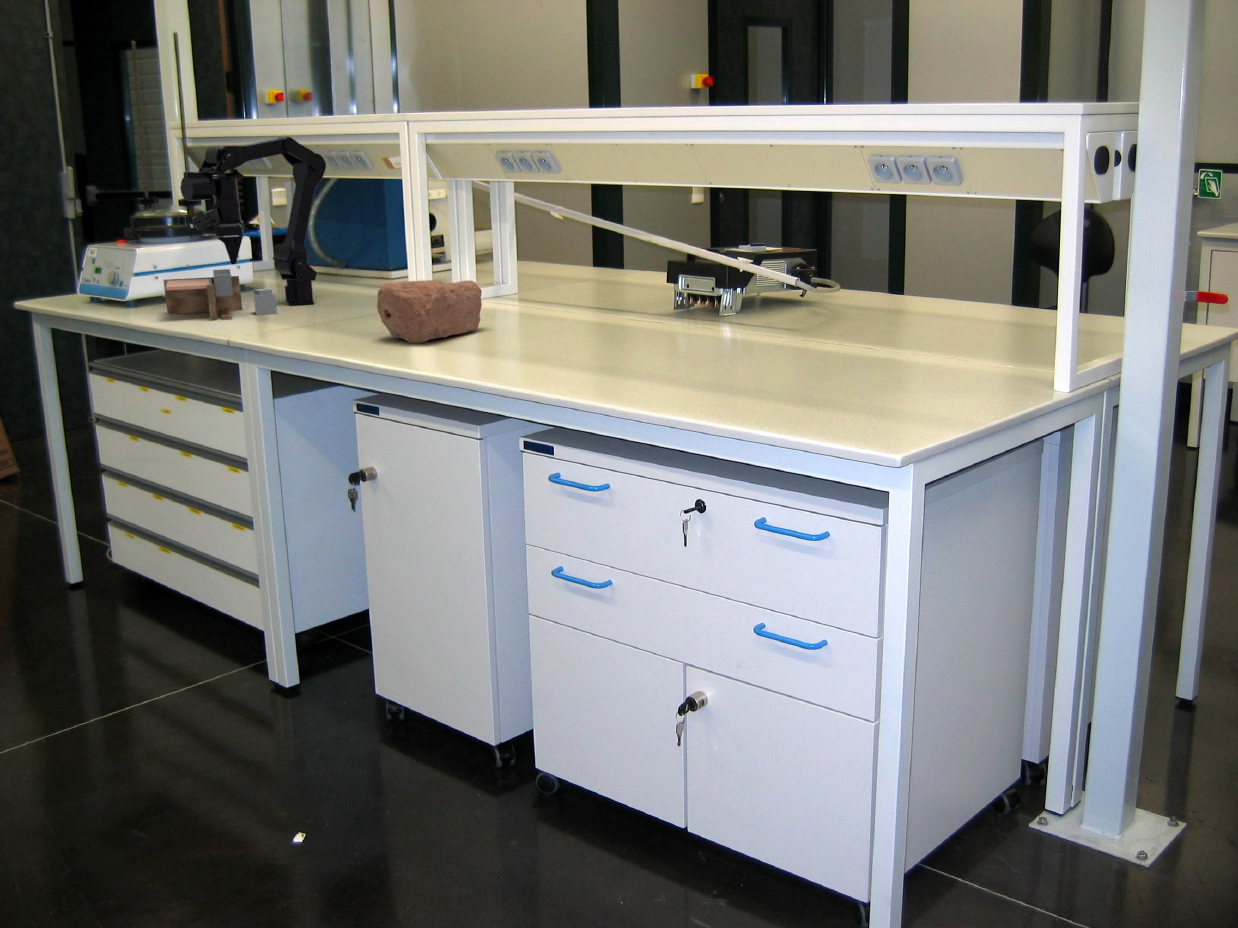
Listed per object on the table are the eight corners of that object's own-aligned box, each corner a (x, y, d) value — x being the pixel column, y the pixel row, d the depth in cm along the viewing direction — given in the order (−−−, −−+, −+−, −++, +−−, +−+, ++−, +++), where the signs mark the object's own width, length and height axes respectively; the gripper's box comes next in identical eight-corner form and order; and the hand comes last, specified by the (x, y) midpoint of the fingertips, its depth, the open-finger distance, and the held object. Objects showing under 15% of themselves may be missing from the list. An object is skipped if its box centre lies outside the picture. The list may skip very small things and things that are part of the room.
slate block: (276, 311, 288) (273, 288, 286) (277, 314, 283) (274, 290, 282) (255, 312, 286) (253, 289, 285) (256, 315, 282) (254, 291, 280)
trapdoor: (231, 289, 289) (229, 269, 287) (233, 295, 276) (230, 275, 275) (169, 292, 284) (166, 272, 282) (167, 299, 271) (164, 278, 270)
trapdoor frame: (242, 309, 292) (238, 276, 290) (244, 318, 277) (240, 283, 274) (167, 313, 287) (163, 279, 284) (165, 323, 271) (161, 287, 269)
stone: (511, 325, 253) (494, 259, 252) (426, 339, 234) (408, 268, 233) (463, 340, 264) (446, 278, 263) (378, 355, 244) (360, 287, 243)
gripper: (193, 197, 286) (201, 260, 290) (189, 202, 269) (198, 268, 273) (239, 195, 289) (247, 257, 293) (238, 200, 272) (246, 265, 276)
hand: (234, 262), depth 284 cm, fingers open, 9 cm apart
